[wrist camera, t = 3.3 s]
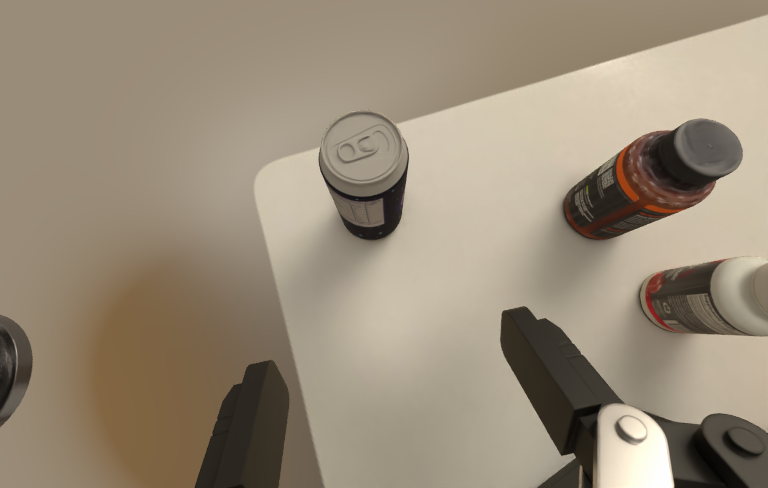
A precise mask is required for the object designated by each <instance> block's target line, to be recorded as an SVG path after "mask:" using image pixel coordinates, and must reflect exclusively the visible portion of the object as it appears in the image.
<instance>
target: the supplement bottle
mask: <svg viewBox="0 0 768 488" xmlns="http://www.w3.org/2000/svg"><path fill="white" fill-rule="evenodd" d="M742 157H743V150H742V147H741V143H740V141H739V139H738V137H737V136H736V135H735V134H734V133H733V132H732V131H731V130H730V129H729V128H727V127H726V126H725V125H723V124H721V123H719V122H716V121H714V120H709V119H694V120H690V121H687V122H686V123H684V124H682V125H680V126H679V127H678V128H676V129H675V130H673V131H656V132H652V133H648V134H646V135H643V136H642V137H640V138H638V139H637V140H635V141H634V142H632V143H631V144H630V145H628V146H627V147H626V148H624V149H623V150H622V151H620V152H619V153H618V154H616V155H615V156H614V157H612V158H611V159H610V160H608V161H607V162H606V163H604V164H603V165H602V166H600V167H599V168H598V169H596V170H595V171H594V172H592V173H591V174H590V175H588V176H587V177H586V178H584V179H583V180H582V181H580V182H579V183H578V184H577V185H575V186H574V187H573V188H572V189H571V190H570V191H569V193H568V194H567V196H566V199H565V213H566V216H567V219H568V221H569V222H570V224H571V225H572V226H573V227H574V228H575V229H576V230H577V231H578V232H580V233H581V234H583V235H585V236H587V237H589V238H593V239H610V238H613V237H616V236H619V235H622V234H624V233H627V232H629V231H632V230H634V229H637V228H639V227H642V226H644V225H647V224H649V223H652V222H654V221H657V220H659V219H662V218H665V217H667V216H670V215H672V214H675V213H678V212H680V211H682V210H685V209H687V208H690V207H692V206H694V205H696V204H698V203H700V202H701V201H702V200H704V199H705V198H706V197H707V196H708V195H709V194H710V193H711V191H712V190H713V188H714V186H715V183H716V180H718V179H719V178H721V177H724V176H726V175H728V174H730V173H732V172H733V171H734V170H736V169H737V168H738V166H739V165H740V163H741V161H742Z"/></svg>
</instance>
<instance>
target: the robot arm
mask: <svg viewBox="0 0 768 488" xmlns="http://www.w3.org/2000/svg"><path fill="white" fill-rule="evenodd" d="M500 342H501V348H502V351H503V354H504V356H505V358H506V360H507V362H508V363H509V365H510V367H511V369H512V370H513V372H514V374H515V376H516V377H517V379H518V381H519V383H520V384H521V386H522V388H523V390H524V391H525V393H526V395H527V397H528V398H529V400H530V402H531V404H532V405H533V407H534V409H535V411H536V412H537V414H538V416H539V418H540V419H541V421H542V423H543V425H544V426H545V428H546V430H547V432H548V433H549V435H550V437H551V439H552V440H553V442H554V444H555V446H556V447H557V449H558V451H559V453H560V454H561V456H563V455H567V454H571V453H574V454H575V456H576V458H577V459H578V461H579V463H580V472H579V488H768V433H766V432H765V431H764V430H762V429H761V428H759V427H758V426H756V425H754V424H752V423H750V422H748V421H746V420H744V419H742V418H739V417H736V416H733V415H728V414H720V413H718V414H711V415H709V416H707V417H705V419H704V420H703V421H702V423H701V424H700V425H698V424H688V423H679V422H670V421H662V420H657V419H653V418H651V417H650V416H648V415H647V414H646V413H644V412H642V411H641V410H639V409H637V408H635V407H632V406H629V405H626V404H625V403H624V402H623V401H622V400H621V399H620V398H619V397H618V396H617V395H616V394H615V393H614V391H613V390H612V389H611V388H610V387H609V385H608V384H607V383H606V382H605V381H604V380H603V378H602V377H601V376H600V375H599V374H598V372H597V371H596V370H595V369H594V368H593V366H592V365H591V364H590V363H589V362H588V360H587V359H586V358H585V357H584V356H583V355H581V353H580V351H579V350H578V349H577V347H576V346H575V345H574V344H572V342H571V340H570V339H569V338H568V337H567V335H566V334H565V333H564V332H563V331H562V329H561V328H559V327H558V326H556V325H555V324H553V323H552V322H550V321H549V320H547V319H546V318H544V319H539V320H537V319H536V318H535V316H534V315H533V314H532V313H531V311H530V310H529V309H528V308H527V307H525V306H523V307H519V308H514V309H509V310H505V311H503V312H502V320H501V337H500ZM1 373H2V358H1V353H0V378H1ZM288 410H289V392H288V388H287V385H286V384H285V382H284V380H283V378H282V376H281V374H280V372H279V370H278V368H277V366H276V364H275V362H274V361H273V360H269V361H264V362H260V363H256V364H251V365H249V366H248V367H247V369H246V371H245V375H244V378H243V382H242V383H241V384H237V385H234V386H233V387H232V389H231V390H230V392H229V393H228V395H227V396H226V398H225V399H224V400H223V402H222V405H221V408H220V411H219V414H218V417H217V419H218V421H217V422H216V424H215V427H214V430H213V436H212V437H211V439H210V442H209V445H208V448H207V451H206V454H205V457H204V460H203V463H202V466H201V469H200V472H199V476H198V479H197V482H196V485H195V488H278V486H279V479H280V471H281V463H282V456H283V448H284V440H285V433H286V425H287V417H288Z"/></svg>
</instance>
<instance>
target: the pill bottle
mask: <svg viewBox="0 0 768 488" xmlns="http://www.w3.org/2000/svg"><path fill="white" fill-rule="evenodd" d="M640 299H641V303H642V307H643V310H644V311H645V313H646V314H647V316H648V317H649V318H650V319H651V320H652V321H653V322H654V323H655V324H656V325H658V326H659V327H661V328H663V329H665V330H668V331H671V332H678V333H697V334H721V335H744V336H768V260H767V259H763V258H759V257H752V256H742V257H735V258H729V259H723V260H718V261H713V262H708V263H703V264H698V265H692V266H686V267H681V268H675V269H669V270H665V271H660V272H657V273H654V274H652V275H651V276H650V277H648V278H647V279H646V280H645V282H644V284H643V286H642V289H641V293H640Z"/></svg>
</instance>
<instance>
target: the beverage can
mask: <svg viewBox="0 0 768 488" xmlns="http://www.w3.org/2000/svg"><path fill="white" fill-rule="evenodd" d="M408 162H409V153H408V148H407V145H406V142H405V140H404V138H403V137H402V135H401V133H400V131H399V129H398V127H397V126H396V125H395V124H394V123H393V121H392V120H390V119H389V118H388V117H386V116H384V115H382V114H380V113H378V112H374V111H369V110H357V111H352V112H349V113H346V114H344V115H342V116H340V117H338V118H337V119H335V120H334V121H333V122H332V123H331V124H330V125H329V127H328V128H327V129H326V131H325V133H324V135H323V138H322V142H321V148H320V152H319V166H320V170H321V173H322V175H323V178H324V180H325V182H326V184H327V187H328V189H329V191H330V193H331V196H332V198H333V200H334V202H335V205H336V207H337V209H338V211H339V214H340V216H341V218H342V220H343V223H344V225H345V226H346V228H347V229H348V230H349V231H350V232H351V233H352V234H354V235H355V236H357V237H359V238H362V239H368V240H375V239H380V238H383V237H385V236H387V235H389V234H390V233H391V232H392V231H393V230H394V229H395V228H396V227H397V225H398V224H399V222H400V219H401V215H402V208H403V200H404V193H405V185H406V177H407V170H408Z"/></svg>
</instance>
